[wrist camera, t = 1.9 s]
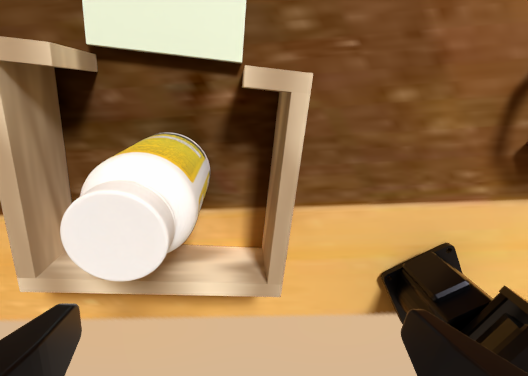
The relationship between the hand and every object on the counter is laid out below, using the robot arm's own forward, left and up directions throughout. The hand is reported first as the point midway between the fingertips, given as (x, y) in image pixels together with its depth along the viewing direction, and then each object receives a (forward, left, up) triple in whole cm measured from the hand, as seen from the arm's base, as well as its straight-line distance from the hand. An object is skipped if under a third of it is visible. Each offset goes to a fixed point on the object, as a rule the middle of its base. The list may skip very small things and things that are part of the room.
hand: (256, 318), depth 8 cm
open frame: (+3, +4, -14) cm, 15 cm away
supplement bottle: (+3, +4, -14) cm, 15 cm away
